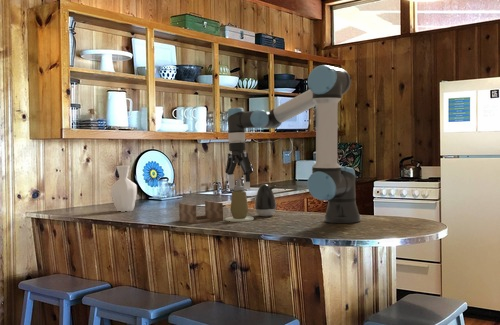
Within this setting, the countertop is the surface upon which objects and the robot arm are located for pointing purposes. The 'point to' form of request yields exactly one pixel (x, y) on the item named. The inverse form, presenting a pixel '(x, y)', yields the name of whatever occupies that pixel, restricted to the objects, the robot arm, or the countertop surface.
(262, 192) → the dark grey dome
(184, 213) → the holder
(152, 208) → the countertop surface
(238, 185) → the squeeze bottle
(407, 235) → the countertop surface
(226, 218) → the plate
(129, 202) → the vase
